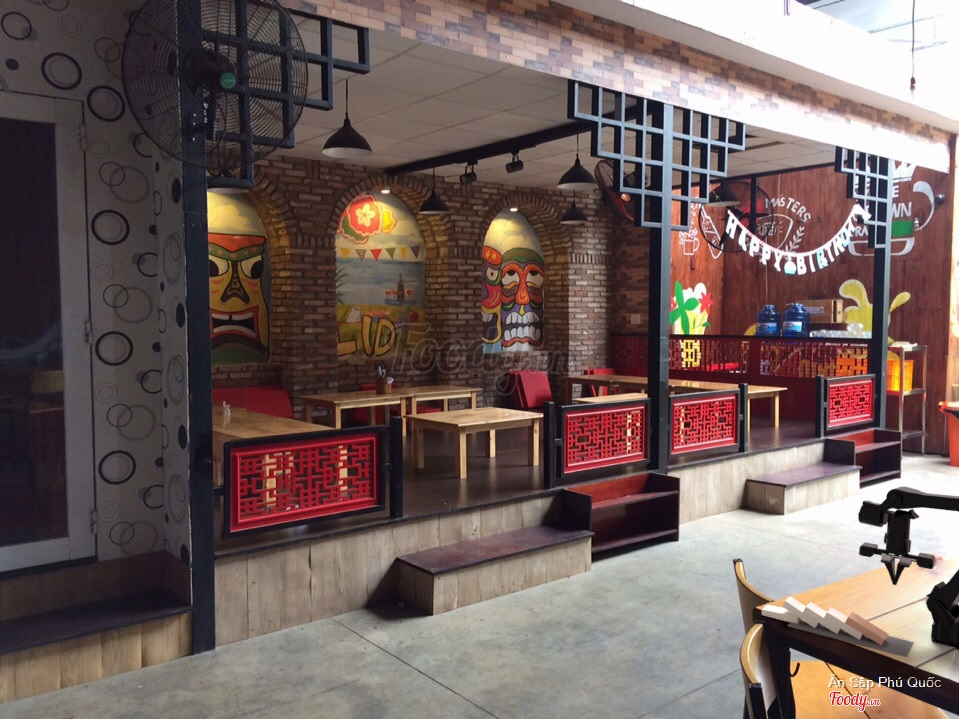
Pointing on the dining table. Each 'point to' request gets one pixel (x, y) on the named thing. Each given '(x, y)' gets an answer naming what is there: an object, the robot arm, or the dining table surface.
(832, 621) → the ivory domino
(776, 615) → the ivory domino
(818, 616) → the ivory domino
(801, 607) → the ivory domino
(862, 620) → the terracotta domino
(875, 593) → the dining table surface
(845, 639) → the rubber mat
